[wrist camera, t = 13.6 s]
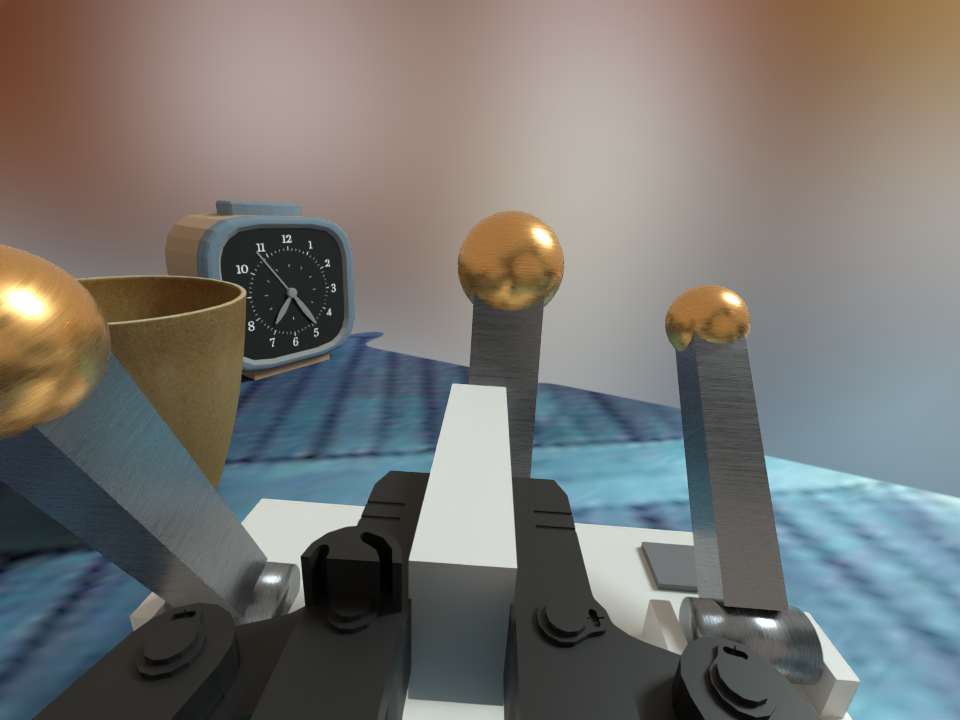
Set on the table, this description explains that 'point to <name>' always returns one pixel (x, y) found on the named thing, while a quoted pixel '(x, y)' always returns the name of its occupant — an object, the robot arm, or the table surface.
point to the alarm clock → (273, 278)
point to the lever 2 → (732, 491)
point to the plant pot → (181, 353)
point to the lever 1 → (115, 454)
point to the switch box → (612, 577)
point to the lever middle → (510, 313)
